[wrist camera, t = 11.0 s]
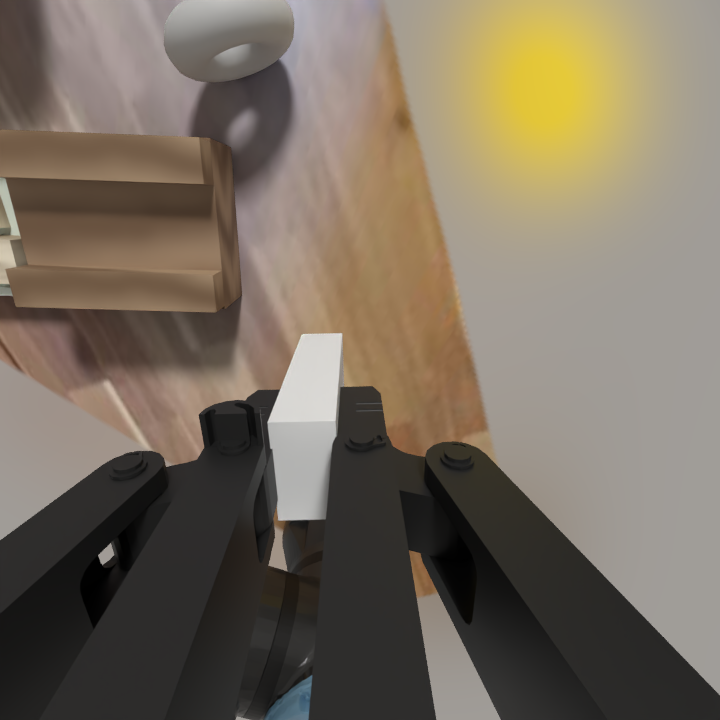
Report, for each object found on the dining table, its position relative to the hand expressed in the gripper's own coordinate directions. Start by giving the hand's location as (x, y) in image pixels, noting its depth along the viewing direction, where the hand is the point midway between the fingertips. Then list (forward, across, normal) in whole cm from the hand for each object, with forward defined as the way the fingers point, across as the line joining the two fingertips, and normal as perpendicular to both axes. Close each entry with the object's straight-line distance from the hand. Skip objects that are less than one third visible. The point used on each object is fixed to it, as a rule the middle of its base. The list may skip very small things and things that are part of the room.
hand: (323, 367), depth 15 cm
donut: (+29, +8, -18) cm, 35 cm away
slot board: (+29, +19, -4) cm, 34 cm away
